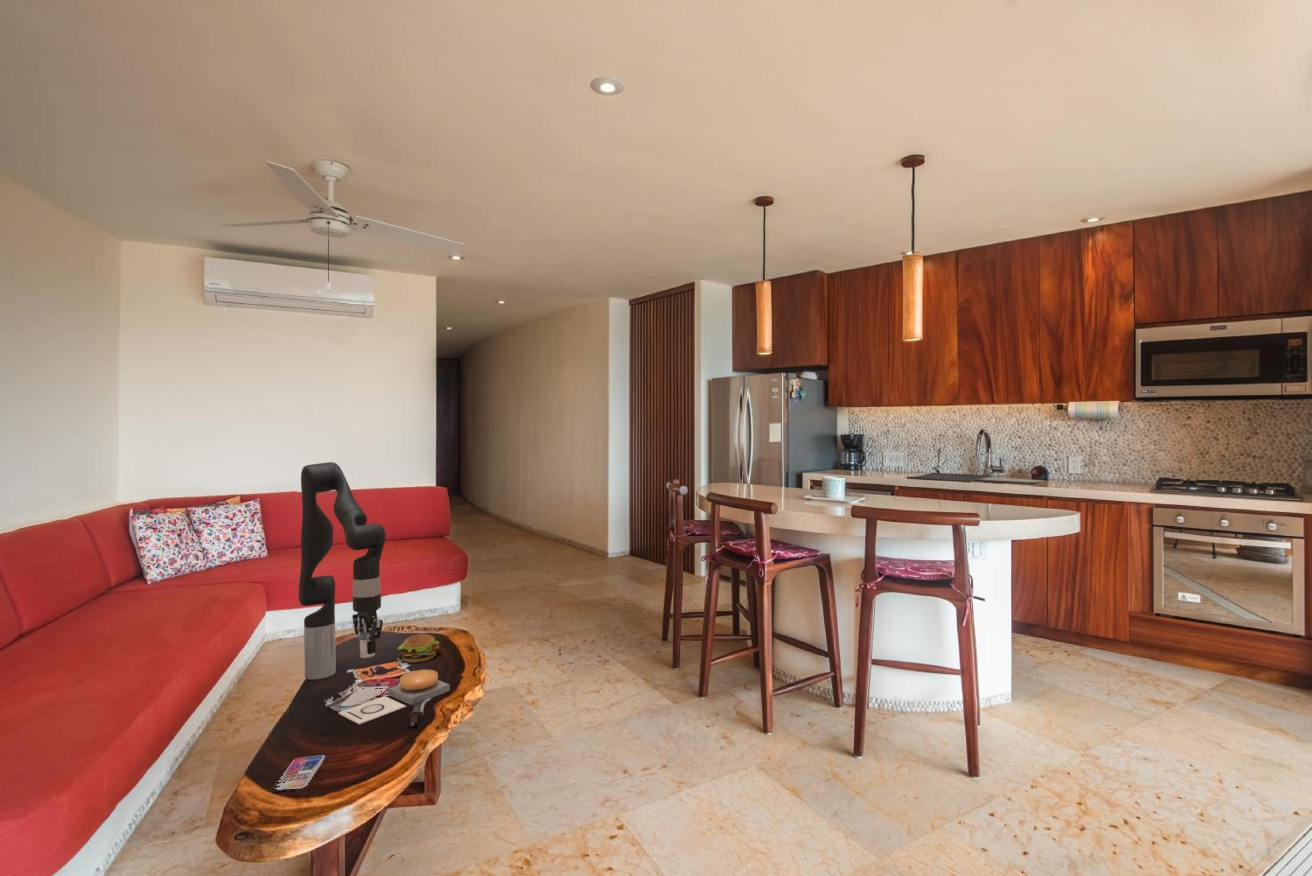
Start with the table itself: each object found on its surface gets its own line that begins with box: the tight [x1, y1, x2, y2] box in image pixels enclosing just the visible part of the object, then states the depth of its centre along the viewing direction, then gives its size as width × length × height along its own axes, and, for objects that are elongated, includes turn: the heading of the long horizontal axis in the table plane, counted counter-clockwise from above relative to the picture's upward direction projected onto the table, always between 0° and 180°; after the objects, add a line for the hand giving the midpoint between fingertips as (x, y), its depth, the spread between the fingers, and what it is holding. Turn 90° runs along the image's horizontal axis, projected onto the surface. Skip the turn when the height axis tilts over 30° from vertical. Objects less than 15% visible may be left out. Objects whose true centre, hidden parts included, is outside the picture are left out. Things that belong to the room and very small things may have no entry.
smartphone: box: [275, 754, 326, 790], centre depth 145 cm, size 7×1×15 cm
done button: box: [399, 669, 439, 690], centre depth 192 cm, size 11×11×2 cm
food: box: [397, 633, 441, 663], centre depth 224 cm, size 14×14×8 cm
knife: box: [408, 698, 432, 727], centre depth 180 cm, size 26×2×5 cm
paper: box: [337, 695, 407, 725], centre depth 180 cm, size 12×14×1 cm
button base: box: [387, 679, 451, 706], centre depth 192 cm, size 13×13×2 cm
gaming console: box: [336, 681, 391, 712], centre depth 190 cm, size 22×1×10 cm
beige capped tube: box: [359, 628, 376, 659], centre depth 179 cm, size 4×4×7 cm
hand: (367, 651), depth 179 cm, fingers closed on beige capped tube, 4 cm apart
